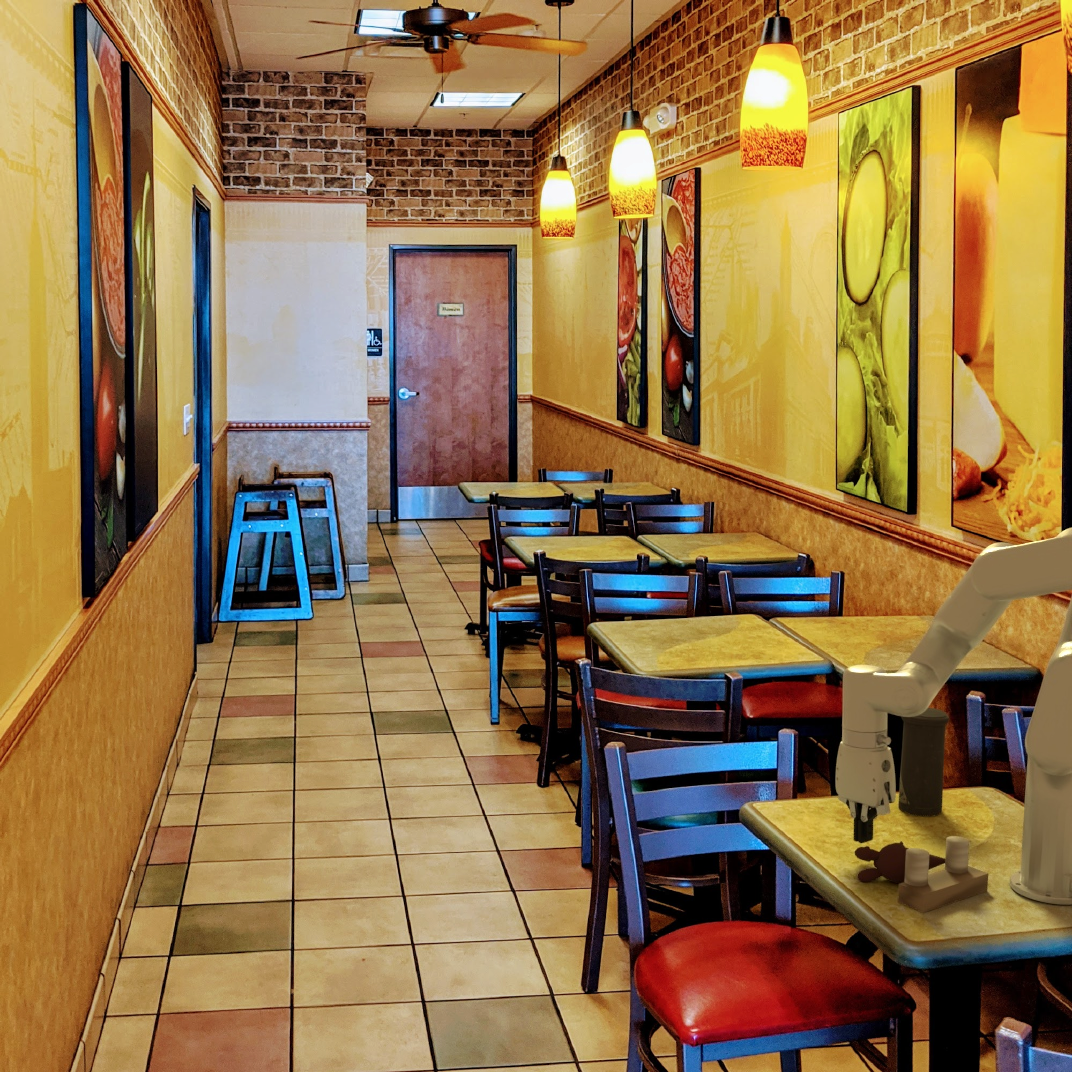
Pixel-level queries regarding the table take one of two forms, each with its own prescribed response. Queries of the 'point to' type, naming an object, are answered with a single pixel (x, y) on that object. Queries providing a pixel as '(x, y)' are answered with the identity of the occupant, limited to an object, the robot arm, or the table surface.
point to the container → (923, 763)
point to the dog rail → (940, 878)
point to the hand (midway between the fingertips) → (863, 840)
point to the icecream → (888, 862)
